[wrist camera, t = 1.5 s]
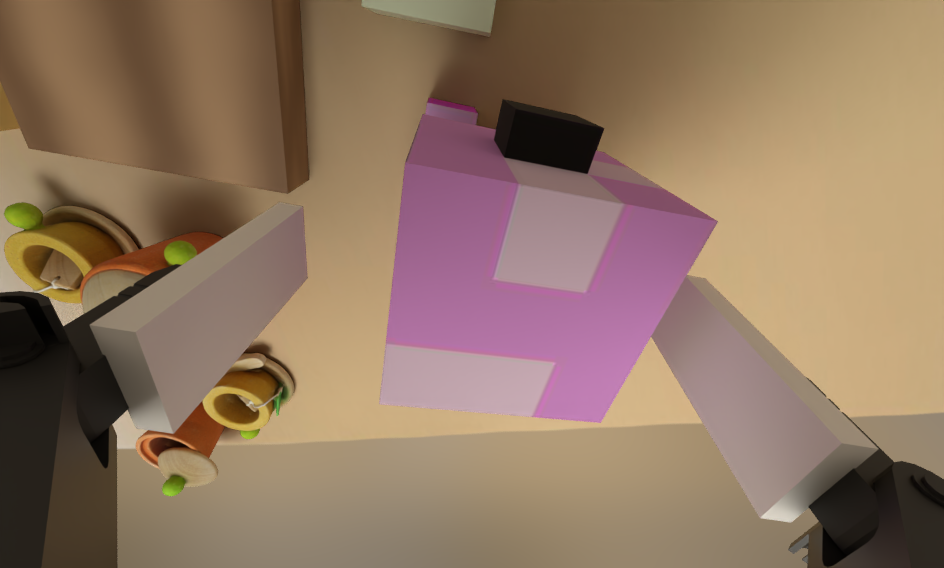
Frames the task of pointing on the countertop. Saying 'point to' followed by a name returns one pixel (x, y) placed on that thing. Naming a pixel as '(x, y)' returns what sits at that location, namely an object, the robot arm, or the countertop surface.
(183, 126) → the pedestal
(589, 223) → the toy
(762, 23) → the countertop surface
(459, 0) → the brick sage
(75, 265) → the toy tea set
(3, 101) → the brick ochre
